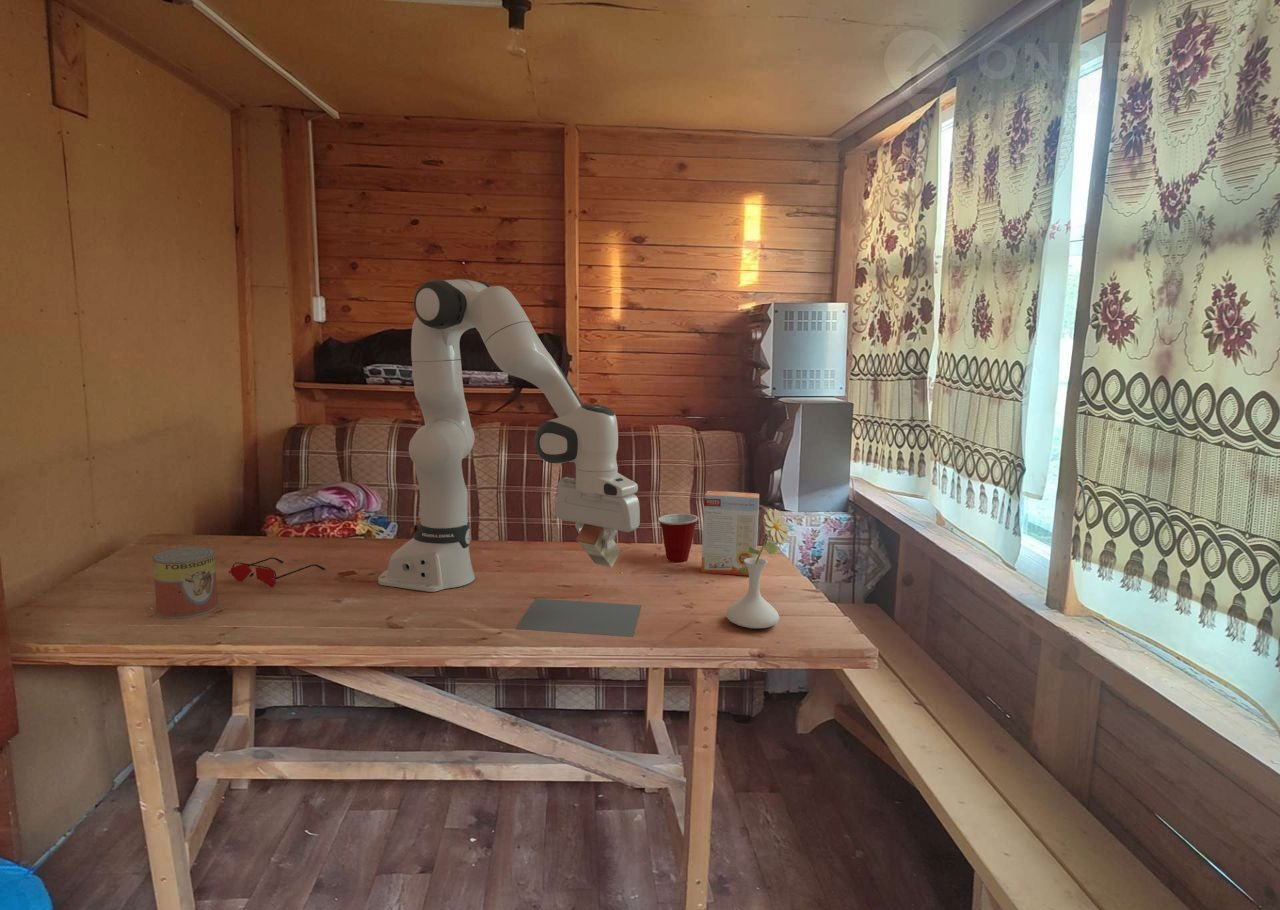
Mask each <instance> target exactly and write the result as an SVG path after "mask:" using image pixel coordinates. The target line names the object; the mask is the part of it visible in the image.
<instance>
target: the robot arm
mask: <svg viewBox="0 0 1280 910" xmlns="http://www.w3.org/2000/svg"><path fill="white" fill-rule="evenodd" d="M413 308H414V309H413V310H414V313H415V315H416V318H415V319H414V321H413V323H412V328H411V338H410V339H411V341H410V352H411V355H410V356H411V364H412V365H411V366H412V378H413V386H414V388H413V389H414V396H415V399H416V400H417V402H418V404H419V407H420V410H421V413H422V417H423V420H424V425H422V426H420V427H419V428H418V429H417V431H415V433H414V434H413V436H412V437H411V438H410V441H409V442H408V443H409V445H408V454H409V458H410V459H411V461H412V463H413V464H414V469H415V474H416V479H417V484H418V488H419V505H420V507H419V511H420V512H419V513H420V515H419V517H420V519H419V520H418V521H417V522H416V524H414V525H413V526H412V527H411V528H410V530H411V531H410V534H412V535H413V537H412V538H411V539H409V540H408V541H407V542H405V543H404V544H403V545H402V546H400V547H398V549H396V550H395V551H394V552H393V553H392V554H391V556H390V558H389V560H388V561H389V562H388V567H387V569H386V570H384V571H383V572H382V573H380V575H379V576H378V578H377V583H378V585H379V586H384V587H385V586H387V587H393V588H394V587H395V588H399V589H406V590H407V589H408V590H415V591H421V592H428V593H429V592H430V593H433V592H438V591H442V590H446V589H452V588H458V587H462V586H466V585H468V584H470V583H472V582H473V581H475V579H476V576H475V575H476V574H475V573H474V572H475V571H474V570H473V564H472V560H471V555H470V545H471V526H470V521H469V516H468V515H469V514H468V513H469V509H468V507H469V498H468V495H469V493H468V492H469V491H468V488H467V486H466V483H465V479H464V474H463V473H464V472H463V467H462V466H463V465H462V463H463V462H462V461H463V459H465V458H467V456H468V455H470V454H471V452H472V450H473V447H474V444H475V437H476V436H475V432H474V429H473V427H472V424H471V423H472V422H471V419H470V414H469V409H468V407H467V401H466V398H465V393H464V392H465V391H464V382H463V370H462V360H461V359H462V358H461V348H460V341H461V337H462V335H463V334H464V333H465V332H467V333H470V334H473V333H475V332H477V331H478V333H479V335H480V337H481V339H482V342H483V343H484V345H485V347H486V350H487V352H488V354H489V356H490V357H491V359H492V361H493V362H494V363H495V365H496V366H497V367H498V368H499V370H500V371H502V372H504V373H505V374H508V375H510V376H513V377H516V378H519V379H522V380H525V382H528V383H531V384H532V385H534V386H536V387H537V388H538V389H539V390H540V391H541V392H542V393H543V395H544V396H545V398H546V399H547V401H548V403H549V404H550V405H551V407H552V409H553V411H554V412H555V414H556V416H557V417H556V418H553V419H550V420H547V421H545V422H543V423H541V424H540V425H539V427H538V428H537V429H536V432H535V436H534V445H535V447H534V448H535V450H536V452H537V454H538V455H539V456H540V458H541V460H543V461H545V462H547V463H549V464H556V465H560V464H564V463H571V462H573V463H574V465H575V478H573V477H572V478H571V477H568V476H564V477H562V478H561V479H560V480H559V481H558V482H557V494H556V498H555V509H554V513H555V516H556V517H557V519H559V520H562V521H563V520H564V521H569V522H573V523H575V526H574V527H575V529H576V531H577V533H578V534H579V533H580V531H581V529H582V527H583V525H584V524H588V525H593V526H598V527H603V528H605V530H606V533H608V535H607V537H606V538H605V539H603V540H602V547H603V548H611V547H612V539H613V540H614V538H615V536H616V534H617V533H618V531H621V532H625V533H630V532H633V531H635V530H637V529H638V528H639V526H640V524H641V523H640V522H641V521H640V519H641V516H640V515H641V512H640V511H641V509H640V500H639V498H638V496H637V495H636V493H637V492H638V489H639V485H638V483H636V481H633V480H632V479H629V478H628V477H626V476H625V475H622V473H619V471H618V470H619V469H618V467H619V466H618V462H617V454H618V450H619V428H618V427H619V426H618V420H617V416H616V414H615V412H614V411H613V410H612V409H611V408H609V407H608V406H604V405H600V404H593V403H592V404H591V403H587V404H586V403H585V404H583V402H582V400H581V399H580V397H579V395H578V394H577V392H576V391H575V389H574V388H573V386H572V385H571V383H570V381H569V379H568V377H567V376H566V375H565V373H564V371H563V369H562V368H561V367H560V366H559V364H558V363H557V361H556V360H555V359H554V357H553V356H552V355H551V354H550V352H548V350H547V348H546V347H545V345H544V344H543V342H542V341H541V339H540V337H539V335H538V334H537V332H536V330H535V329H534V326H533V325H532V322H531V321H530V318H529V317H528V316H527V314H526V312H525V310H524V309H523V306H521V304H520V303H519V301H518V299H517V298H516V297H515V296H514V294H513V293H512V292H511V290H509V289H507V287H504V286H502V285H491V284H489V283H486V282H485V281H480V280H477V281H475V280H471V279H463V278H457V279H443V280H442V279H433V280H429V281H426V282H423V283H422V284H421V285H419V287H418V288H417V290H416V291H415V293H414V297H413Z"/></svg>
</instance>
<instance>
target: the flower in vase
mask: <svg viewBox="0 0 1280 910" xmlns="http://www.w3.org/2000/svg"><path fill="white" fill-rule="evenodd" d="M781 515H782V514H781V513H780V511H779V510H777V509H776V508H774V509H772V508H769V509H768V510H766V513H764V515H763V518H762V521H763V524H762V526H763V527H764V530H763V531H764V533H765V538H764V541H763V545H762V547H761V548H760V550H758V549H757V550H755V549H753V548H751V547H749V552H751V553H754V554H757V556H756V558H747V559H744V562H745V564H746V566H747V568H748V572H749V576H748V590H747V593H746V595H744V596H743V597H741V598H740V599H738V600H736V601H735V602H734V603H732V604H731V605H730V606H729V607H728V608H727V610H726V612H725V616H726V617H727V619H728V621H730V622H731V624H732V623H733V624H735V625H736V626H739V627H744V628H748V629H765V628H770V627H773V626H775V625H776V624H777V623H778V622H779V621H780V615H779V613H778V611H777V610H776V609H775V607H774V606H772V605H771V604H770V603H769V602H768V601H767V600H765V599H764V598H763V596H762V595H761V590H760V584H761V578H762V577H761V576H762V573H763V571H764V569H765V567H767V566H766V565H767V564H768V563H769V562H768V560H766V559H763V558H760V557H761V554H762V552H763V550H765V551H766V552H767V553H768V554H771V555H772V554H775V553H776V552H778V551H779V547H778V545H779V546H781V545H782V546H783V545H784V544H785V542H787V541H788V540H789V539H788V538H790V534H789V533H790V531H791V530H790V527H788V526H789V525H788V523H787V522H786V517H785V516H781ZM768 539H769V540H770V541H767V540H768Z"/></svg>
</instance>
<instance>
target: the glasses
mask: <svg viewBox="0 0 1280 910" xmlns="http://www.w3.org/2000/svg"><path fill="white" fill-rule="evenodd" d="M269 560H275V561H277V562H279V563H280V564H281V563H284V560H282V559H279V558H277V557H268V558H265V559H262V560H259V561H256V562H252V563H250V564H249V563H245V562H235V563H234V564H233V565H232V567H230V569H229V570H228V573H229V574H231V576H232V577H233V578H234V579H235V580H237V581H238V582H242V583H243V582H244V580H245V579H247V578H253V576H254V573H253V572H252V571H253V570H252V569H251V568H250V567H251V566H252V567H255V574H256V579H257V580H259V581H260V582H262V583H264V584H266V585H267V586H268V587H271V588H274V587H275V585H276V583H277V581H276V580H278V579H281V578H284V577H286V576H289V575H291V574H294V573H297V572H300V571H302V570H305V569H308V568H310V567H317V568H319V569H321V570H322V571H323V570H326V568H325V567H323V566H322V565H319V564H316V563H315V564H314V563H313V564H310V565H307V566H305V567H302V568H299V569H295V570H293V571H290V572H288V573H285V574H283V575H280V576H277V573H276V571H275V570H274V569H273V568H271V567H267V566H262V565H258V564H260V563H262V562H266V561H269ZM237 564H238V565H237ZM235 565H236V566H235Z"/></svg>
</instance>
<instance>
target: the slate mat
mask: <svg viewBox="0 0 1280 910" xmlns="http://www.w3.org/2000/svg"><path fill="white" fill-rule="evenodd" d="M641 609H642V604H641V605H640V604H630V603H629V604H628V603H615V602H614V603H610V602H598V601H580V600H568V599H567V600H565V599H551V598H550V599H549V598H537V597H536V598H535V599H534V600H533V602H532V603H531V605H530V606H529V608H528V609H527V611H526V612H525V613H524V615H523V616H522V618H521V620H520V621H519V623H518V624H517V626H516V627H515V630H524V631H537V632H538V631H539V632H556V633H569V634H571V633H572V634H583V635H599V636H601V635H602V636H612V637H613V636H615V637H628V638H629V637H630V638H634V635H635V631H636V629H637V624H638V620H639V618H640V617H639V616H640V613H641V612H640V611H641Z"/></svg>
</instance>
